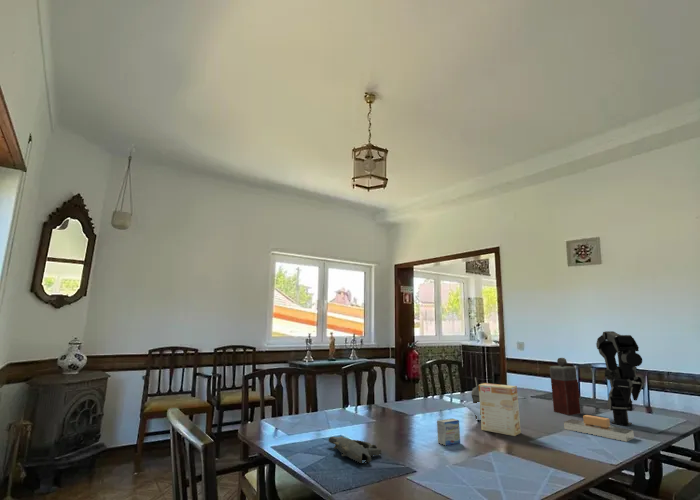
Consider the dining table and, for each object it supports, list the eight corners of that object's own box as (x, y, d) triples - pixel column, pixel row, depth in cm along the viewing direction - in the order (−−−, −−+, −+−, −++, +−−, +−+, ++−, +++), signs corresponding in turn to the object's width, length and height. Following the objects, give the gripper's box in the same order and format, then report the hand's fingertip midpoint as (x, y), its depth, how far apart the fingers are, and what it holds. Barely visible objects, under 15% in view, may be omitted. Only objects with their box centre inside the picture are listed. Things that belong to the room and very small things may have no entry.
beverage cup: (489, 421, 186) (486, 378, 190) (473, 421, 188) (470, 378, 191) (487, 418, 193) (484, 376, 197) (472, 417, 195) (469, 376, 199)
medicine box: (445, 446, 150) (444, 422, 152) (437, 443, 154) (436, 420, 156) (460, 443, 154) (459, 420, 156) (452, 440, 158) (451, 417, 159)
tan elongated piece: (354, 451, 129) (392, 450, 135) (325, 431, 151) (359, 431, 158) (352, 468, 128) (391, 466, 134) (324, 445, 150) (358, 444, 157)
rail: (572, 426, 178) (572, 419, 179) (634, 438, 159) (633, 430, 160) (564, 429, 173) (563, 421, 174) (626, 441, 155) (625, 433, 155)
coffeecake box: (521, 433, 167) (517, 385, 171) (515, 436, 162) (511, 387, 166) (487, 427, 178) (484, 382, 181) (480, 430, 172) (477, 384, 176)
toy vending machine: (584, 413, 203) (577, 357, 208) (568, 415, 199) (562, 358, 204) (568, 409, 211) (563, 356, 216) (553, 411, 207) (548, 357, 212)
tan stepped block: (588, 430, 171) (586, 414, 172) (611, 434, 164) (609, 418, 165) (584, 431, 169) (583, 415, 170) (607, 436, 162) (605, 419, 163)
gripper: (614, 361, 183) (618, 396, 180) (597, 364, 172) (601, 401, 169) (642, 363, 174) (647, 400, 171) (626, 366, 163) (631, 405, 160)
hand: (631, 401), depth 168 cm, fingers open, 9 cm apart
